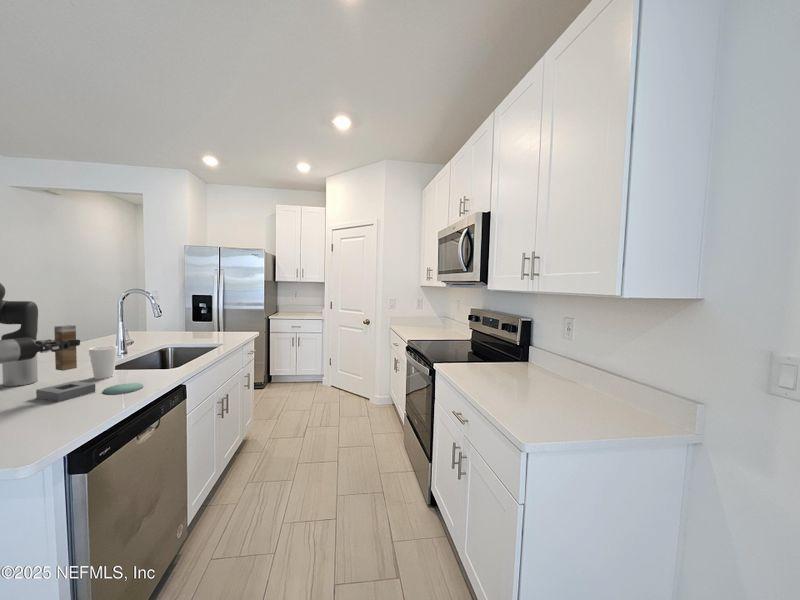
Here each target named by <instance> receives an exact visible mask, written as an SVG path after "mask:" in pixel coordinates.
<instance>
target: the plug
mask: <svg viewBox="0 0 800 600" xmlns="http://www.w3.org/2000/svg"><path fill="white" fill-rule="evenodd" d="M76 327H77V326H76V325H72V324H63V325H54V327H53V328H54V340H55V341H59V342H60V341H71V340H77V328H76ZM54 357H55V358H54V360H55V362H54V363H55V370H56V371H68V370H69V371H70V370H74V369H78V364H77V361H78V360H77V358H78V357H77V346H72V347H69V349H65V350H60V351H55V352H54Z"/></svg>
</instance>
